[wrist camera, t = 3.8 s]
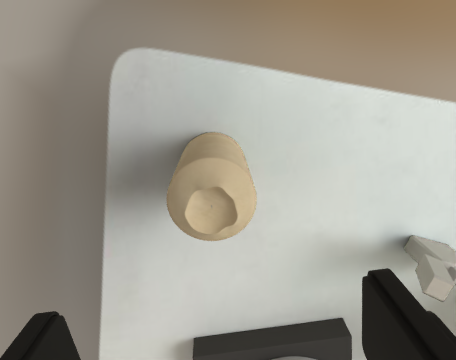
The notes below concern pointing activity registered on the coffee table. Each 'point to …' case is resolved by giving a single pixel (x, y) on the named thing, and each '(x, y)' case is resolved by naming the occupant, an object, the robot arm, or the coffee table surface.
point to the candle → (212, 189)
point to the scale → (280, 343)
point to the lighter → (433, 266)
